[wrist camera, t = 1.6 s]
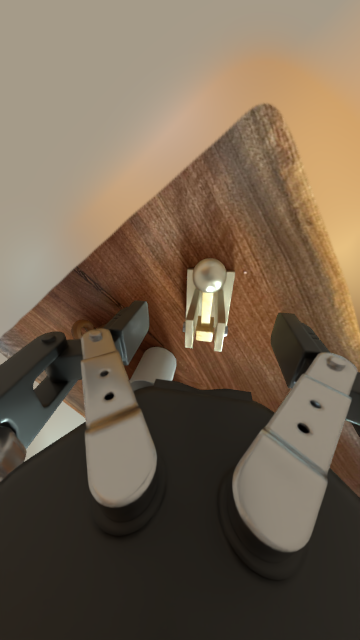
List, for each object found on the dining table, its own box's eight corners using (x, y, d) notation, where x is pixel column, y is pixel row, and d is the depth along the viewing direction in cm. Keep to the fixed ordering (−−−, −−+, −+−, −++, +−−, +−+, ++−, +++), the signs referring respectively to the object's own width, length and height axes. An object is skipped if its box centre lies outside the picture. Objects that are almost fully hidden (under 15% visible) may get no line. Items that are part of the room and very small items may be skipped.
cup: (182, 369, 46) (173, 405, 37) (153, 376, 49) (140, 411, 40) (165, 342, 43) (152, 375, 34) (136, 352, 45) (117, 384, 37)
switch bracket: (188, 267, 33) (173, 294, 22) (234, 270, 32) (243, 299, 21) (186, 321, 39) (174, 363, 28) (226, 325, 38) (229, 371, 27)
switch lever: (194, 249, 17) (189, 274, 16) (229, 251, 17) (228, 276, 15) (194, 323, 28) (192, 342, 27) (216, 325, 28) (215, 344, 26)
